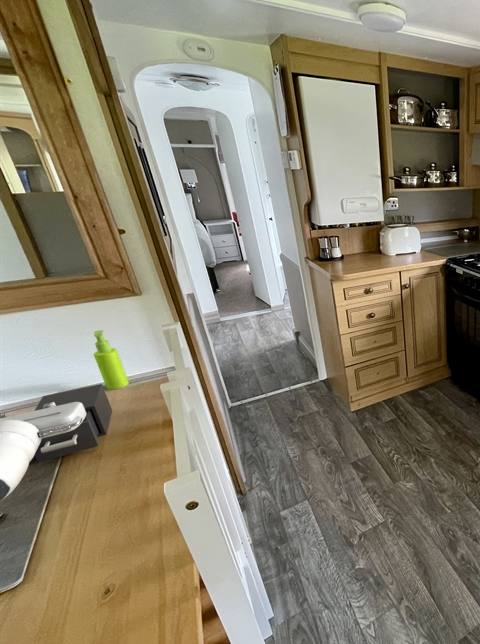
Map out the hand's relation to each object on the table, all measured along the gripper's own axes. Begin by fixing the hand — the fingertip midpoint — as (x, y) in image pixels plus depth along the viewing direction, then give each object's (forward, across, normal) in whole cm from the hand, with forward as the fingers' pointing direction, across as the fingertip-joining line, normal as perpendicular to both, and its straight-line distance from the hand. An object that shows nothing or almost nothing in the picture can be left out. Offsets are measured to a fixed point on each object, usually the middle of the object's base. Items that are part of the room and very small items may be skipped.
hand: (26, 411), depth 83 cm
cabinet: (+25, 0, +20) cm, 32 cm away
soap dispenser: (+52, -6, +20) cm, 56 cm away
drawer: (+15, 0, +19) cm, 25 cm away
